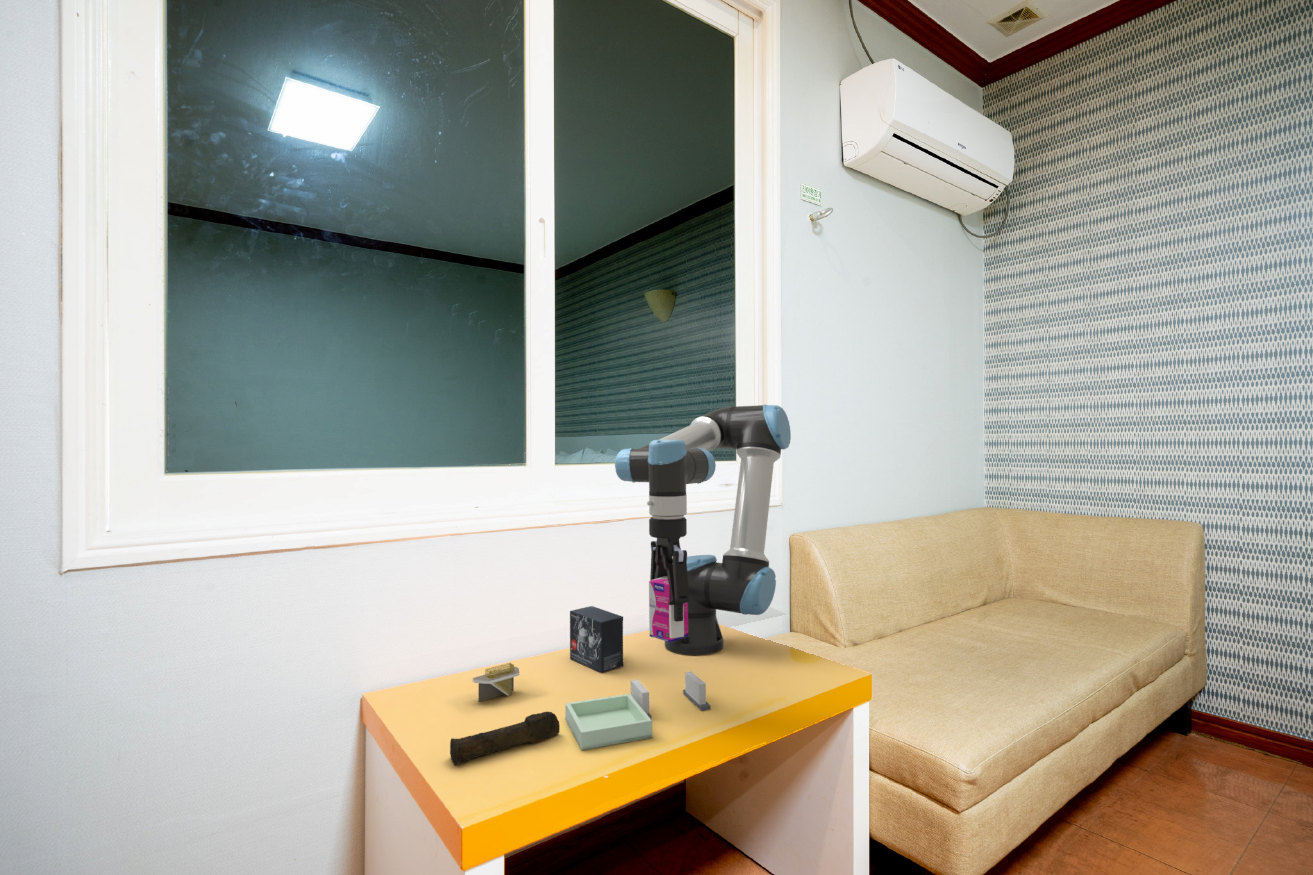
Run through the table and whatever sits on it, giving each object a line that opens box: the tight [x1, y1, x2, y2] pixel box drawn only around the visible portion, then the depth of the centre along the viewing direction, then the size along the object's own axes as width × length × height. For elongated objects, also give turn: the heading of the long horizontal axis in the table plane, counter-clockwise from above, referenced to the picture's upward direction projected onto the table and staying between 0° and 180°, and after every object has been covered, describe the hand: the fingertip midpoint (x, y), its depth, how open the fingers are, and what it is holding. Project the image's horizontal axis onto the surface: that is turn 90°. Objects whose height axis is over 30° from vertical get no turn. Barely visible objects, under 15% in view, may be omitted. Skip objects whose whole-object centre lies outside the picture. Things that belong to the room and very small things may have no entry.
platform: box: [472, 662, 520, 702], centre depth 126 cm, size 12×18×7 cm, turn 133°
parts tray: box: [564, 693, 653, 751], centre depth 112 cm, size 13×13×3 cm
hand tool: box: [449, 711, 561, 766], centre depth 104 cm, size 19×4×5 cm, turn 120°
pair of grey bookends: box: [630, 671, 712, 720], centre depth 122 cm, size 14×9×5 cm, turn 111°
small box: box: [569, 605, 625, 674], centre depth 146 cm, size 13×7×12 cm, turn 42°
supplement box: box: [648, 576, 688, 643], centre depth 122 cm, size 6×6×12 cm
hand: (668, 630), depth 122 cm, fingers closed on supplement box, 7 cm apart
